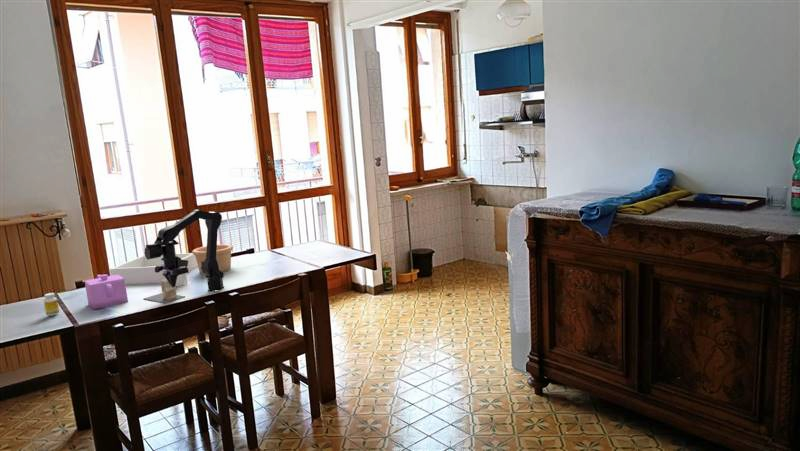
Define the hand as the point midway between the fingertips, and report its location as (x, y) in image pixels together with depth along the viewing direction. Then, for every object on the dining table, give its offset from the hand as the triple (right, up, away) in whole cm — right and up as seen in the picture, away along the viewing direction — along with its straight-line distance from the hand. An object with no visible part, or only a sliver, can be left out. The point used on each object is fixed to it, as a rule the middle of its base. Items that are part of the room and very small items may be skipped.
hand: (173, 287), depth 275 cm
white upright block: (-10, -3, +31) cm, 33 cm away
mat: (-7, -6, +6) cm, 11 cm away
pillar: (-3, -6, +4) cm, 8 cm away
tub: (-31, 0, +56) cm, 64 cm away
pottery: (+3, +2, +55) cm, 55 cm away
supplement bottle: (-53, -12, -7) cm, 55 cm away
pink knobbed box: (-35, -8, +7) cm, 36 cm away
